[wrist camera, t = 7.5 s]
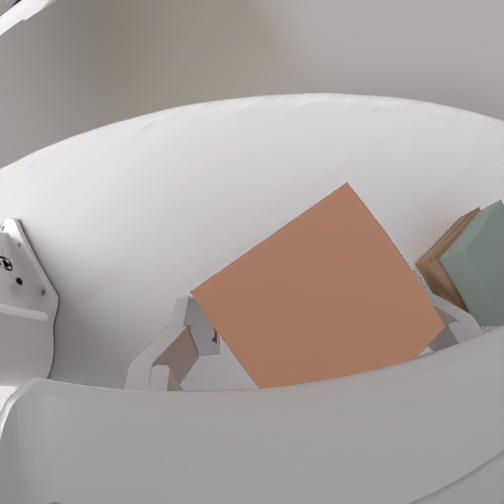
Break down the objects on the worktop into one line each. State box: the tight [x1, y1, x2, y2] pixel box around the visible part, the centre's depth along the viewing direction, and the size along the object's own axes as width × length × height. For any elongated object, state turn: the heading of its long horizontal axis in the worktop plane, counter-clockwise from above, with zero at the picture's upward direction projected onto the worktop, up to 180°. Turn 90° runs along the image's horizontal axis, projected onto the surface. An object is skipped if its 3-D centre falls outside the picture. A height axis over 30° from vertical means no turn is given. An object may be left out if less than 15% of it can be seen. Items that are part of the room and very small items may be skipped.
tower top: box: [439, 200, 504, 326], centre depth 19 cm, size 8×8×4 cm
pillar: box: [191, 183, 445, 389], centre depth 12 cm, size 5×5×10 cm
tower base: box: [415, 207, 481, 327], centre depth 23 cm, size 9×9×4 cm
